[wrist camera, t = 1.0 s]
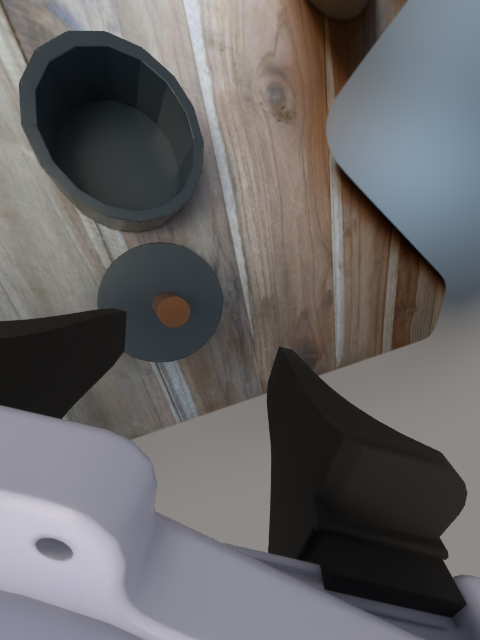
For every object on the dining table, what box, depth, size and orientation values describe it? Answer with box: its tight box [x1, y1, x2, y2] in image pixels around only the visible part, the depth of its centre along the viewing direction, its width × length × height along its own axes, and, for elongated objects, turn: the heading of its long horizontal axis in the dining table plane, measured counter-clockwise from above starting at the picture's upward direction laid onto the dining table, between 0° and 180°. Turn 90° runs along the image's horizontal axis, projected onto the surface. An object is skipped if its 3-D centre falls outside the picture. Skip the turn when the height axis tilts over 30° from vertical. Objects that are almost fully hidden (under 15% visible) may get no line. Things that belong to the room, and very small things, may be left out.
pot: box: [19, 31, 204, 232], centre depth 18 cm, size 10×10×5 cm
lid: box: [97, 243, 222, 362], centre depth 21 cm, size 11×11×5 cm
